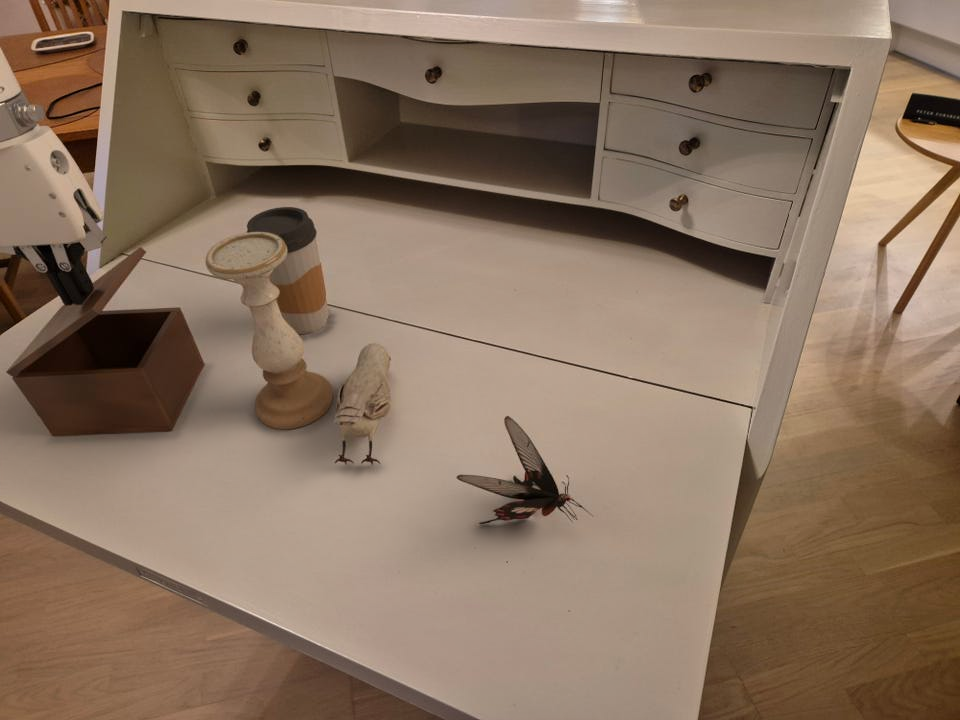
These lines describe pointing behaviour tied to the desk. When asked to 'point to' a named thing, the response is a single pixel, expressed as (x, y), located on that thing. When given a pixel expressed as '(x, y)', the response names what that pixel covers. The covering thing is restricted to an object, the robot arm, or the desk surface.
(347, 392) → the decorative bird
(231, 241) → the candle holder
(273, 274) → the coffee cup
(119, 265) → the lid
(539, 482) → the butterfly
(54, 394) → the keepsake box
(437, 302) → the desk surface
